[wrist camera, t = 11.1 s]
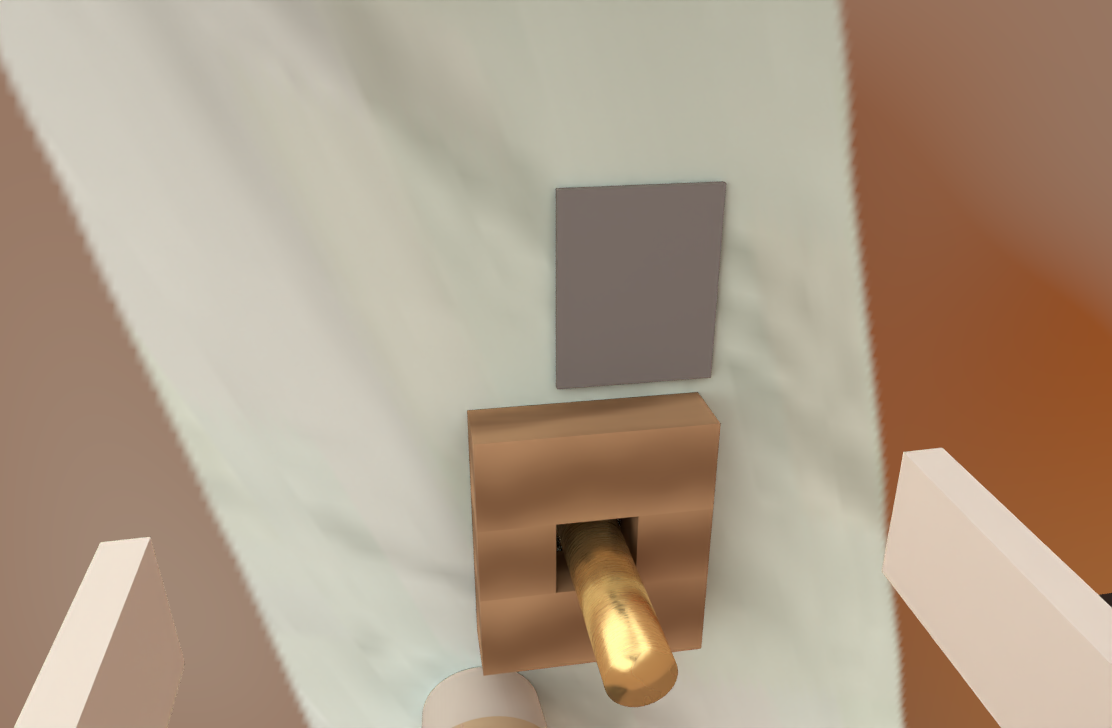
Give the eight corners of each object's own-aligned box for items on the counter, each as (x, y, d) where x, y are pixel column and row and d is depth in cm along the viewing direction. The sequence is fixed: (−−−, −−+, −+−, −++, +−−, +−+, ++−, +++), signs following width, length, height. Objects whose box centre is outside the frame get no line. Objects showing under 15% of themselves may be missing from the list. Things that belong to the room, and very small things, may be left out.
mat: (556, 188, 41) (557, 190, 40) (723, 181, 42) (726, 183, 41) (556, 385, 45) (557, 389, 44) (708, 374, 46) (710, 377, 46)
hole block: (467, 410, 44) (473, 444, 41) (697, 392, 46) (720, 423, 43) (477, 631, 50) (483, 676, 47) (681, 606, 52) (700, 648, 49)
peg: (554, 496, 47) (605, 653, 37) (613, 490, 48) (680, 643, 37) (554, 545, 49) (603, 711, 38) (611, 539, 49) (675, 701, 38)
